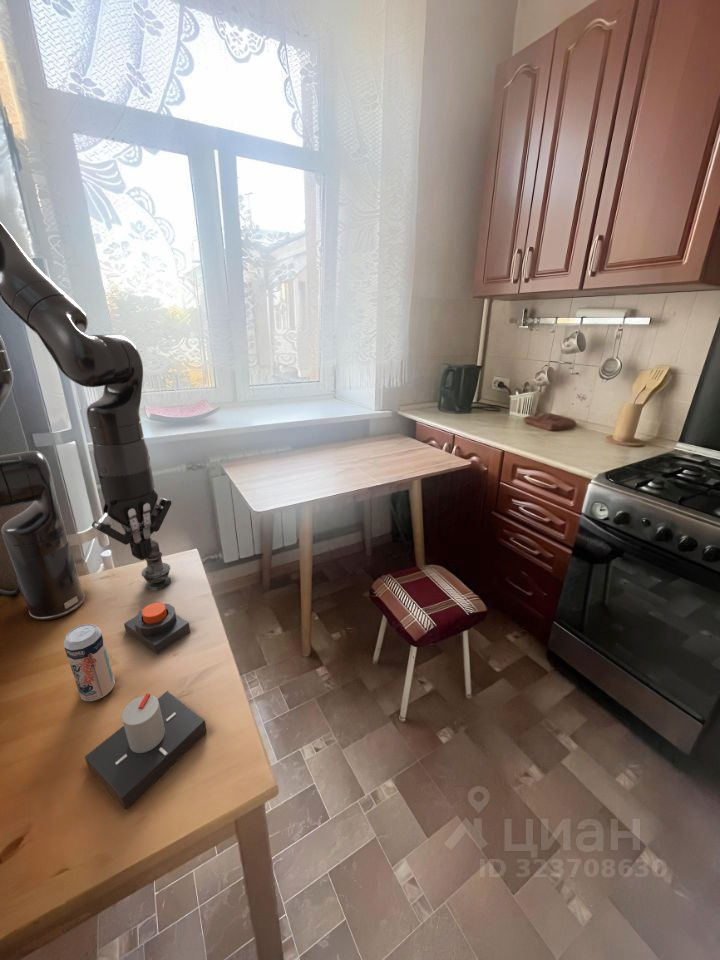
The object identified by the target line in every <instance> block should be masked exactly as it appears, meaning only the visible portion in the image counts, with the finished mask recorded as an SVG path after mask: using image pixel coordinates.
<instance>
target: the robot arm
mask: <svg viewBox="0 0 720 960" xmlns="http://www.w3.org/2000/svg"><path fill="white" fill-rule="evenodd" d="M0 300H1V302H2V303H3V304H4V305H5V306H6V307H7V308H8V310H9V311H11V313H13V314H14V315H15V316H16V317H17V318H18V319H19V320H20V321H21V322H23V324H25V325H26V326H27V327H28V328H29V329H31V330H32V332H34V333H35V334H36V335H37V336H38V338H39V339H40V341H41V342H42V345H43V346H44V347H45V349H46V350H47V352H48V353H49V355H50V356H51V358H52V360H53V361H54V363H55V365H56V366H57V368H58V369H59V371H60V372H61V373H62V374H63V375H64V376H65V377H66V378H67V379H69V380H70V381H72V382H73V383H75V384H76V385H79V386H82V387H85V388H98V387H99V388H100V387H103V393H102V396H101V397H100V398H98V399H97V400H96V401H94V402H91V403H90V404H89V405H88V406H87V407H86V411H85V412H86V413H85V414H86V420H87V425H88V429H89V434H90V438H91V442H92V452H93V458H94V463H95V467H96V472H97V477H98V480H99V484H100V489H101V493H102V497H103V499H104V506H103V514H102V516H101V517H100V518H99V519H98V520H94V521H93V522H91V527H92V528H93V529H95V530H96V531H99V532H100V533H102V534H105V535H106V536H108V537H110V538H111V539H113V540H116V541H117V542H119V543H120V544H123V545H125V546H126V545H129V546H130V551H131V555H132V556H133V557H134V558H136V559H137V560H140V561H144V560H145V559H146V558H148V557H150V553H152V547H151V541H150V538H151V536H152V535H153V533H155V532H157V533H158V532H159V531H160V528H161V526H162V524H163V522H164V521H165V519H166V516H167V514H168V512H169V509H170V508H171V506H172V501H171V500H170V499H167V498H164V497H162V496H159V495H158V493H157V492H156V490H155V482H154V477H153V476H154V475H153V470H152V465H151V458H150V454H149V449H148V446H147V443H146V441H145V437H144V431H143V424H142V420H141V419H142V418H141V414H140V408H141V403H142V394H143V393H142V390H143V382H144V381H143V380H144V364H143V360H142V357H141V354H140V352H139V350H138V348H137V347H136V345H135V344H134V343H133V342H132V341H131V340H130V339H129V338H127V337H126V336H123V335H120V334H85V333H86V331H87V330H88V326H89V321H88V316H87V314H86V312H85V311H84V309H82V307H81V306H80V305H79V304H78V303H76V301H74V300H73V299H72V298H71V296H69V295H68V294H67V293H66V292H65V291H64V290H63V289H62V288H60V287H59V286H58V285H57V284H56V283H55V282H54V281H53V280H52V279H51V278H50V277H49V276H48V275H46V274H45V273H44V271H42V270H41V269H40V268H39V267H38V265H37V264H36V263H34V261H33V260H32V259H31V258H30V257H29V256H28V255H27V253H26V252H25V251H24V249H23V248H22V247H21V246H20V245H19V243H18V242H17V241H16V239H15V238H14V237H13V235H11V233H10V232H9V230H8V229H7V227H5V226H4V225H3V223H2V222H1V221H0ZM14 379H15V378H14V372H13V369H12V366H11V361H10V358H9V355H8V352H7V348H6V344H5V342H4V339H3V337H2V335H0V412H1V411H2V409H3V407H4V405H5V403H6V401H7V400H8V397H9V395H10V394H11V391H12V388H13V384H14ZM27 503H32V504H30V505H29V506H28V507H27V508H26V509H24V510H23V511H21V512H20V513H18V514H16V515H15V516H13V517H11V518H10V519H8V520H7V521H6V522H5V523H3V525H2V526H1V530H0V531H1V536H2V539H3V542H4V544H5V547H6V551H7V553H8V555H9V558H10V561H11V563H12V566H13V570H14V572H15V576H16V578H17V579H16V583H17V587H16V589H15V590H12V591H9V590H6V589H1V588H0V595H4V596H16V595H19V594H20V593H21V594H22V595H23V597H24V600H25V603H26V606H27V609H28V613H29V616H30V618H31V619H33V620H36V621H50V620H54V619H55V620H56V619H59V618H61V617H64V616H67V615H69V614H71V613H72V612H75V610H77V609H78V608H80V607H81V605H83V603H84V602H85V599H86V595H85V592H84V590H83V586H82V582H81V578H80V575H79V572H78V571H79V570H78V569H77V565H76V561H75V558H74V554H73V551H72V547H71V545H70V544H71V543H70V541H69V537H68V534H67V530H66V526H65V523H64V519H63V517H62V512H61V509H60V504H59V501H58V496H57V492H56V487H55V482H54V477H53V473H52V469H51V466H50V464H49V461H48V460H47V458H46V456H45V455H44V454H43V453H42V452H40V451H38V450H27V451H21V452H14V453H8V454H1V455H0V510H1V509H5V508H10V507H16V506H19V505H24V504H27ZM112 520H114V521H115V522H117V523H118V524H120V526H121V528H122V530H124V533H121V532H119V531H117V530H116V529H114V523H113V521H112Z"/></svg>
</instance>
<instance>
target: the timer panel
mask: <svg viewBox="0 0 720 960" xmlns="http://www.w3.org/2000/svg"><path fill="white" fill-rule="evenodd" d="M157 699H158V701H159V705H160V710H161V714H162V719H163V723H164V728H165V734H164V737H163V739H162V740H161V742H160V743H159V744H158V745H157V746H156V747H155V748H153V749H152V750H150V751H147V752H144V753H136V752H133V751H132V750H131V749H130V746H129V742H128V739H127V735H126V732H125V728H124V725H123V726H121V727H120V728H118V730H116V731H115V732H114V733H112V734H111V735H110V736H109V737H107V738H106V739H105V740H103V742H101V743H100V744H98V745H97V746H96V747H94V748H93V750H91V751H90V752H88V753H87V754H86V755H85V756H84V760H85V762H86V765H87V767H88V770H89V771H90V772H91V773H92V774H93V776H94V777H96V779H97V780H98V781H99V783H100V784H102V785H103V786H104V788H105V789H106V790H107V792H109V793H110V794H111V796H113V798H114V799H115V800H116V801H117V802H118V803H119V804H120V806H122V808H123V809H124V810H126V811H127V810H128V809H129V808H130V807H131V806H132V805H133V804H134V803H135V802H136V801H137V800H139V798H141V797H142V796H143V794H145V793H146V792H147V791H148V790H149V789H150V788H151V787H152V786H153V785H154V784H155V783H156V782H157V781H158V780H159V779H160V778H161V777H162V776H163V775H164V774H165V773H166V772H167V771H168V770H169V769H170V768H171V767H172V766H174V764H176V762H178V761H179V760H180V759H181V757H183V756H184V755H185V754H186V753H187V752H188V751H189V750H190V749H191V748H192V747H193V746H194V745H195V744H196V743H197V742H199V741H200V739H202V737H204V736H205V735H206V734H207V732H208V731H207V730H208V729H207V724H206V720H205V719H203V717H201V716H200V715H198V714H197V713H196V712H195V711H194V710H192V709H191V708H190V707H189V706H188V705H186V704H185V703H184V702H182V701H181V700H179V698H177V697H176V696H175V695H173V694H172V693H171V692H169V691H165V693H163V694H162V695H160V696H159V697H158V698H157Z"/></svg>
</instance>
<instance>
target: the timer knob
mask: <svg viewBox="0 0 720 960" xmlns="http://www.w3.org/2000/svg"><path fill="white" fill-rule="evenodd" d="M121 721H122V724H123V726H124V728H125V732H126V735H127V739H128V742H129V746H130V749H131V750H132V751H133V752H136V753H144V752H147V751H150V750H152V749H153V748H155V747H156V746H157V745H158V744H159V743H160V742H161V740H162V739H163V737H164V734H165V728H164V723H163V719H162V714H161V710H160V705H159V701H158V698H157V696H154V695H151V693H145V694H144V695H141V696H138V697H136V698H134V699H133V700H131V701H130V702H129V703H128V704H127V705H126V706H125V707H124V709H123V711H122V713H121Z"/></svg>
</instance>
